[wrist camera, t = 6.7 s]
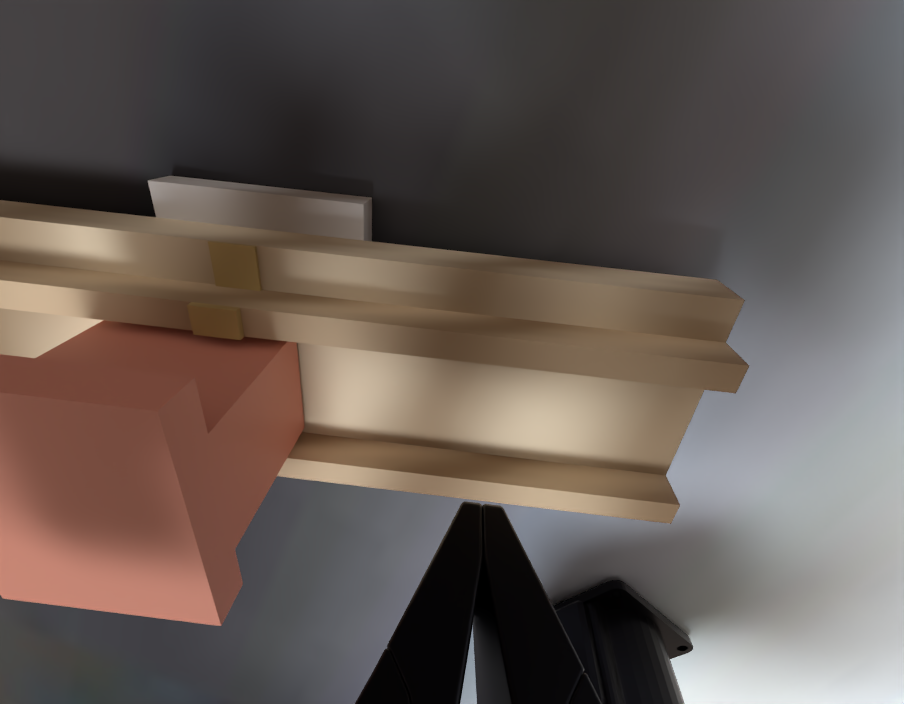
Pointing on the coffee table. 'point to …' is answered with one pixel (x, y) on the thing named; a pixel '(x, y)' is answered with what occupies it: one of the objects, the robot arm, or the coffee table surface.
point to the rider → (140, 466)
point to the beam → (398, 340)
